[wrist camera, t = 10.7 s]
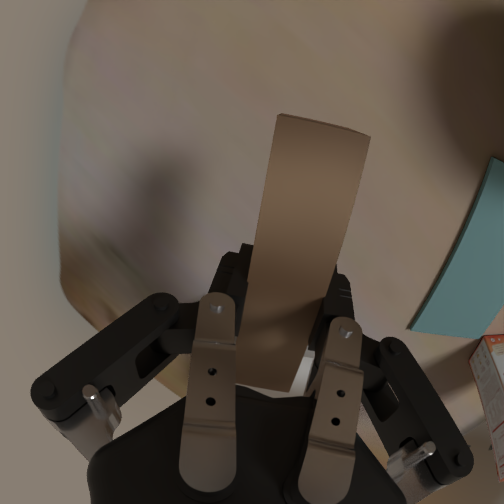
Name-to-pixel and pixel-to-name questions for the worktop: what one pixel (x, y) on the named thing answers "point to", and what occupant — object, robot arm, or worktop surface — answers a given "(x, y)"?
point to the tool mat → (471, 269)
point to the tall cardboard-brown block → (296, 249)
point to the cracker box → (491, 391)
